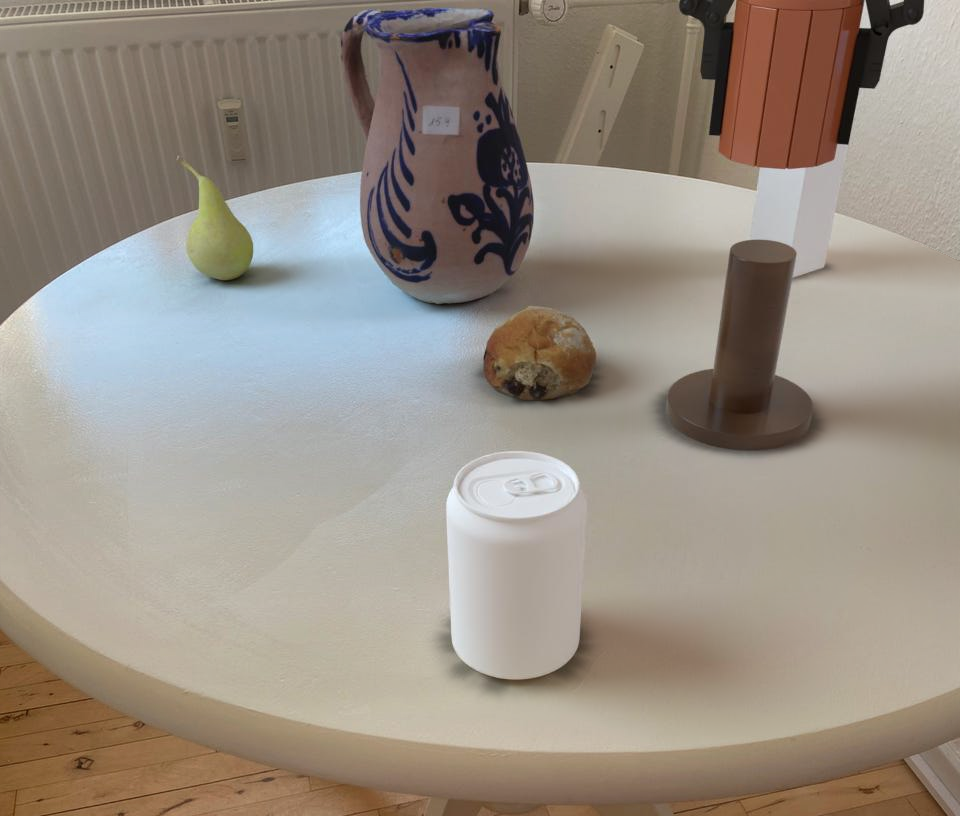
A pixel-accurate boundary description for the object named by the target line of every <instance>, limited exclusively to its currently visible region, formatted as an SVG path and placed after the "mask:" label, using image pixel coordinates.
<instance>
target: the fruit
mask: <svg viewBox="0 0 960 816" xmlns="http://www.w3.org/2000/svg"><path fill="white" fill-rule="evenodd" d="M176 162H177V163H179V164H181V165H182V166H183V167H185V169H187V170H189V171H190V172H191V173H192V174H193V176H195V177H196V179H197V181H198V212H197V215H196V217H195V219H194V221H193V222H192V224H191V225H190V227H189V229H188V232H187V235H186V239H185V240H186V242H185V243H186V244H185V248H186V254H187V256H188V258H189V260H190V262H191V264H192V265H193V266H194V267H195V269H196V270H197V271H198V272H200V273H201V274H203V275H205V276H207V277H209V278H212V279H216V280H219V281H231V280H235V279H237V278H239V277H241V276H242V275H244V274H245V272H246V271H248V269H249V268H250V265H251V263H252V260H253V257H254V242H253V239H252V236H251V234H250V232H249V231H248V229H247V228H246V227H245V226H244V224H243V223H241V222H240V220H239V219H238V218H237V217H236V215H234V213H233V212H232V210H231V209H230V207H229V205H228V203H227V201H226V200H225V198H224V197H223V194H222V193H221V191H220V190H219V188H218V187H217V185H216V184H215V182H213V180H211V179H210V178H208V177H206V176H204V175H201V174H200V173H199V172H197V170H196V169H194V168H193V167H192V166H191V165H190V164H189V163H188V162H187V161H186V160H185V159H183V157H182V156H180V155H177V158H176Z"/></svg>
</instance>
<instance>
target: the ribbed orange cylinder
mask: <svg viewBox="0 0 960 816" xmlns="http://www.w3.org/2000/svg"><path fill="white" fill-rule="evenodd" d="M865 3H866V0H735V9H734V19H733V22H734V25H733V35H732V43H731V51H730V59H729V68H728V76H727V84H726V92H725V100H724V108H723V117H722V125H721V133H720V136H719V140H718V153H719V154H721V155H722V156H723V157H725V158H726V159H728V160H729V161H731V162H733V163H738V164H741V165H745V166H748V167H753V168H754V167H756V168H760V167H761V168H774V169H786V168H787V169H797V168H809V167H815V166H816V167H817V166H820V165H822V164H825V163H828V162H830V161H833V160H834V159H835V154H836V150H837V142H838V137H839V131H840V126H841V121H842V115H843V110H844V105H845V100H846V94H847V89H848V84H849V78H850V73H851V68H852V63H853V57H854V52H855V47H856V41H857V36H858V33H859V29H860V28H861V23H862V17H863V13H864V8H865Z"/></svg>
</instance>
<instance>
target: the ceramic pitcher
mask: <svg viewBox="0 0 960 816" xmlns="http://www.w3.org/2000/svg"><path fill="white" fill-rule="evenodd" d="M494 17H495V14H494V11H491V10H490V9H488V8H484V7H479V8H457V7H456V8H454V7H451V6H447V7H446V6H445V7H429V8H428V7H423V8H419V9H404V10H400V11H396V10H381V9H379V8H376V9H364V10H362V11H361V10H360V12H358V13H356V14H355V15H353V16H351V17H350V19H349V21H348V22H347V23H346V25H345V26H344V29H343V31H342V33H341V39H340V59H341V66H342V72H343V75H344V79H345V83H346V87H347V88H346V89H347V92H348V95H349V97H350V98H349V99H350V101H351V103H352V106H353V109H354V113H355V115H356V116H355V117H356V118H357V121H358V123H359V126H360V129H361V132H362V134H363V137H364V139H365V141H366V145H365V149H364V155H363V156H364V157H363V164H362V170H361V177H360V191H359V212H360V213H359V214H360V224H361V230H362V234H363V239H364V243H365V245H366V247H367V248H368V251H369V253H370V254H371V256H372V258H373V260H374V261H375V263H376V264H377V265H378V267H379V268H380V270H381V271H382V273H384V275H385V276H386V277H387V279H389V281H390V282H391V283H392V285H394V286H395V287H396V288H398V289H399V290H400V291H402V292H403V293H406V294H407V295H409V296H410V297H412V298H414V299H417V300H419V301H422V302H424V303H428V304H437V305H443V304H460V303H461V304H463V303H467V302H472V301H476V300H478V299H482V298H485V297H487V296H489V295H491V294H493V293H494V292H496V291H497V290H498V289H500V288H502V286H504V285H505V284H506V283H507V282H508V281H509V280H510V279H511V278H512V277H513V275H515V273H516V272H517V271H518V270H519V269H520V266H521V264H522V263H523V261H524V259H525V257H526V254H527V251H528V250H529V246H530V244H531V239H532V234H533V228H534V219H535V217H534V215H535V211H534V210H535V205H534V203H535V202H534V201H535V200H534V194H533V187H532V182H531V177H530V172H529V167H528V164H527V161H526V157H525V153H524V148H523V145H522V141H521V137H520V134H519V131H518V128H517V124H516V121H515V117H514V114H513V110H512V107H511V104H510V102H509V99H508V97H507V94H506V91H505V89H504V86H503V82H502V78H501V74H500V68H499V61H498V53H499V44H500V40H501V35H502V31H501V28H500V27H499V25H498V24H496V23H494V22H493V19H494ZM365 32H366V34H367V35H368V36H369V37H370V38H371V41H372V42H373V43H374V44H375V45H376V47H377V49H378V52H379V56H380V77H379V84H378V88H377V92H376V99H375V100H374V97H373V95H372V93H371V89H370V88H371V87H370V85H369V81H368V75H367V73H366V68H365V64H364V61H363V59H364V58H363V53H362V52H363V51H362V41H363V36H364V33H365Z"/></svg>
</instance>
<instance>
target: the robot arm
mask: <svg viewBox="0 0 960 816" xmlns="http://www.w3.org/2000/svg"><path fill="white" fill-rule="evenodd" d="M890 1H891V0H865V5H866V10H867V14H868V15H867V16H868V20H869V24H870V27H860V29H859V33H858V36H857V41H856V47H855V52H854V57H853V63H852V68H851V73H850V78H849V84H848V89H847V94H846V100H845V105H844V110H843V115H842V121H841V126H840V131H839V137H838V142H837V144H844V145H848V146H849V144H850V139H851V134H852V130H853V129H852V128H853V125H854V118H855V113H856V108H857V103H858V98H859V93H860V89H871V90H874V89H876V88H877V86H878V84H879V82H880V81H881V75H882V69H883V65H884V60H885V56H886V51H887V45H888V41H889V38H890V36H891V35H892V33H893V32H895V31H896V30H898V29H900V28H903V27H904V28H905V27H907V26H915V25H916V24H918V23H919V22H921V20H922V18H924V17H923V16H924V11H925V0H903V1H900V2H897V3H894V4H891V2H890ZM734 2H735V0H679V3H678V9H679V12H680V13H681V14H682V15H684V16H690V17H692V18H694V19H696V20H697V21H699V22H700V23H701V25H702V26H703V29H704V30H703V41H702V49H701V61H700V69H699V72H700V75H701V76H700V77H701V79H702V80H707V81H708V80H712V81H714V87H713V96H712V104H711V112H710V121H709V130H708V136H717V137H720V133H721V125H722V117H723V108H724V100H725V92H726V84H727V76H728V68H729V59H730V51H731V43H732V35H733V25H734V21H727V16H728V15H729V13H730V10H731V8H732V6H733V4H734Z"/></svg>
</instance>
